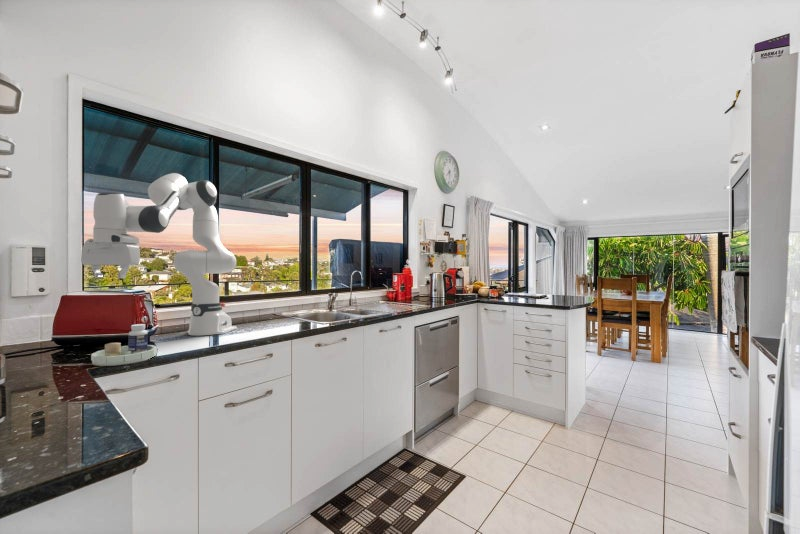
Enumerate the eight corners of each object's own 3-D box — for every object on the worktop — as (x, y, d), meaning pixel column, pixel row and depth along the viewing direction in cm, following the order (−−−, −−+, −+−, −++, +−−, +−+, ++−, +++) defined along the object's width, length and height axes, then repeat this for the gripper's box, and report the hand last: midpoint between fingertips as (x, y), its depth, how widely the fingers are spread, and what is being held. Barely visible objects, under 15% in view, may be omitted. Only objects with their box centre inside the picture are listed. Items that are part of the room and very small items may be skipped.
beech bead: (113, 357, 114) (113, 342, 114) (123, 357, 114) (124, 342, 114) (101, 360, 110) (101, 345, 110) (112, 361, 110) (112, 345, 110)
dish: (127, 351, 126) (127, 344, 126) (168, 353, 124) (168, 345, 124) (77, 364, 110) (77, 355, 110) (123, 367, 107) (123, 358, 107)
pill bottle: (137, 354, 118) (137, 326, 118) (124, 354, 119) (124, 325, 119) (151, 351, 123) (151, 323, 123) (138, 350, 124) (138, 323, 124)
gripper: (75, 238, 118) (75, 278, 118) (126, 237, 115) (126, 278, 115) (94, 239, 124) (94, 278, 124) (143, 238, 121) (143, 278, 121)
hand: (110, 278), depth 119 cm, fingers open, 8 cm apart
